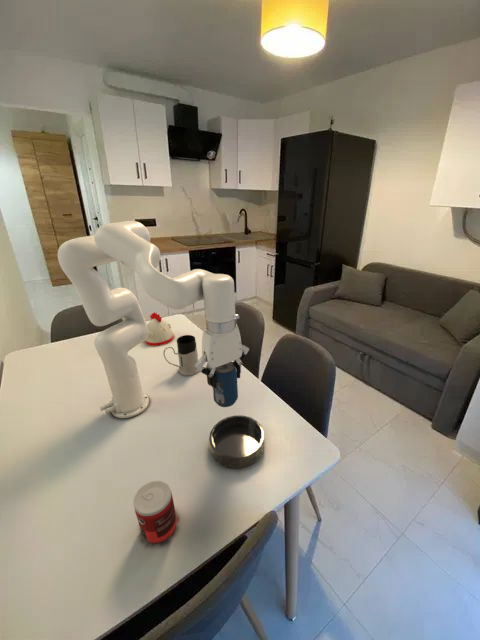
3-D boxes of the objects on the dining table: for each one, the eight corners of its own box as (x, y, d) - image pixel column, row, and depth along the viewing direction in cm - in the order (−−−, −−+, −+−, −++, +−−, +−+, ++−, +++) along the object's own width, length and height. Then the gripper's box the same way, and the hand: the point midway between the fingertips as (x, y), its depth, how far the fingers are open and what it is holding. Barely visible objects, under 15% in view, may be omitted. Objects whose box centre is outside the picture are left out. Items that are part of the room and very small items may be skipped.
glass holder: (203, 370, 125) (200, 340, 119) (170, 382, 118) (165, 350, 111) (195, 361, 132) (191, 332, 125) (164, 372, 124) (158, 341, 118)
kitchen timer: (157, 348, 142) (152, 321, 136) (139, 341, 149) (134, 314, 143) (178, 337, 153) (175, 311, 146) (161, 330, 160) (157, 305, 153)
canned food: (147, 511, 71) (139, 481, 67) (180, 508, 72) (174, 478, 67) (137, 546, 64) (127, 515, 60) (174, 543, 65) (167, 512, 60)
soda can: (236, 391, 87) (235, 357, 82) (239, 407, 81) (237, 371, 76) (213, 394, 86) (210, 360, 81) (214, 410, 80) (211, 374, 75)
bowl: (227, 480, 79) (226, 468, 77) (201, 441, 91) (200, 430, 89) (274, 450, 88) (274, 439, 86) (245, 418, 100) (244, 408, 98)
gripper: (241, 310, 81) (243, 364, 88) (182, 327, 71) (190, 385, 79) (257, 319, 75) (257, 376, 83) (195, 339, 66) (202, 400, 73)
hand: (224, 380), depth 81 cm, fingers closed on soda can, 7 cm apart
